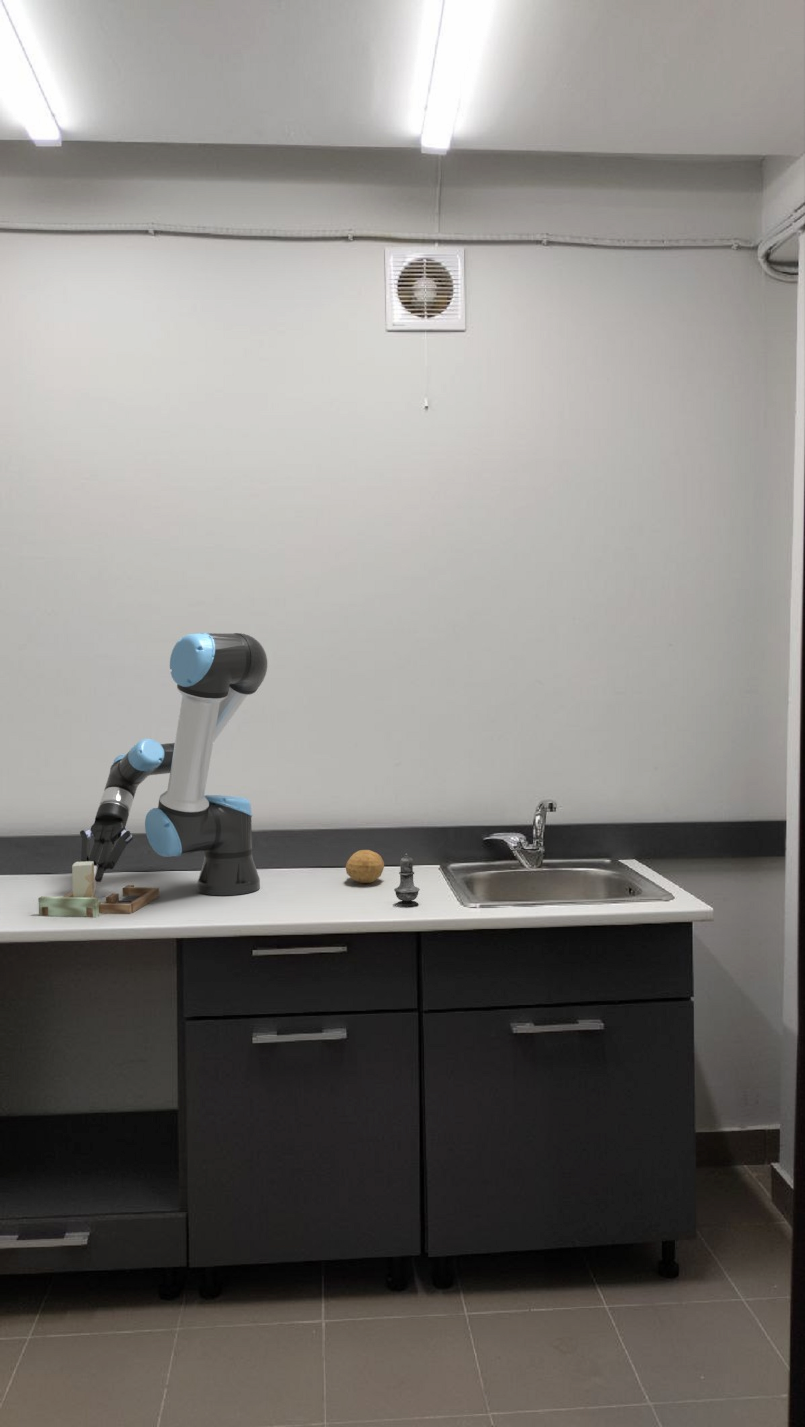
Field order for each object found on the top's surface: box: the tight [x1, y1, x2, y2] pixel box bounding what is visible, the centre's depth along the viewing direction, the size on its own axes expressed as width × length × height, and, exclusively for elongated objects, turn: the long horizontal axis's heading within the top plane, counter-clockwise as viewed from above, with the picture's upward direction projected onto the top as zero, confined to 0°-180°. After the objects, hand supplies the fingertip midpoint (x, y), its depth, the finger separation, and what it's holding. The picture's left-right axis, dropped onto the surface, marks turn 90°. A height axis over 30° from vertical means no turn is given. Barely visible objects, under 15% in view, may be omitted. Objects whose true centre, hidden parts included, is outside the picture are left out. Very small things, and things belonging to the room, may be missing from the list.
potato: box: [345, 849, 385, 884], centre depth 278 cm, size 10×14×8 cm
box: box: [71, 861, 96, 898], centre depth 251 cm, size 5×4×11 cm
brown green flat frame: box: [37, 884, 160, 918], centre depth 258 cm, size 20×24×4 cm
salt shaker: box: [393, 852, 421, 908], centre depth 254 cm, size 6×6×12 cm
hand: (88, 892), depth 258 cm, fingers closed
